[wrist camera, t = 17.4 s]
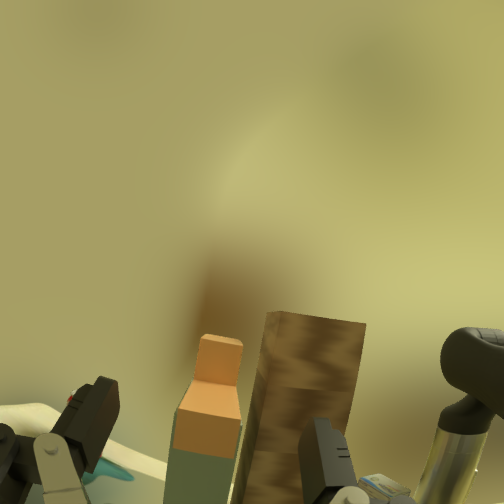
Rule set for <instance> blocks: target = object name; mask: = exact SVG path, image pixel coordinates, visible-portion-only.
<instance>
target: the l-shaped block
mask: <svg viewBox="0 0 504 504" xmlns="http://www.w3.org/2000/svg"><path fill="white" fill-rule="evenodd" d="M242 350H243V345H242V343H241V341H240V340H237V339H232V338H226V337H221V336H216V335H210V334H205V335H204V336H203V337H201V339H200V345H199V350H198V356H197V362H196V368H195V374H194V379H193V381H192V383H191V385H190V387H189V389H188V391H187V392H186V394H185V396H184V398H183V400H182V402H181V404H180V406H179V408H178V413H177V420H176V427H175V434H174V441H173V448H175V449H180V450H184V451H189V452H194V453H200V454H205V455H211V456H217V457H224V458H231V459H234V454H235V449H236V444H237V439H238V434H239V429H240V424H241V415H240V409H239V403H238V396H237V390H236V384H237V378H238V373H239V367H240V362H241V356H242Z"/></svg>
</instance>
